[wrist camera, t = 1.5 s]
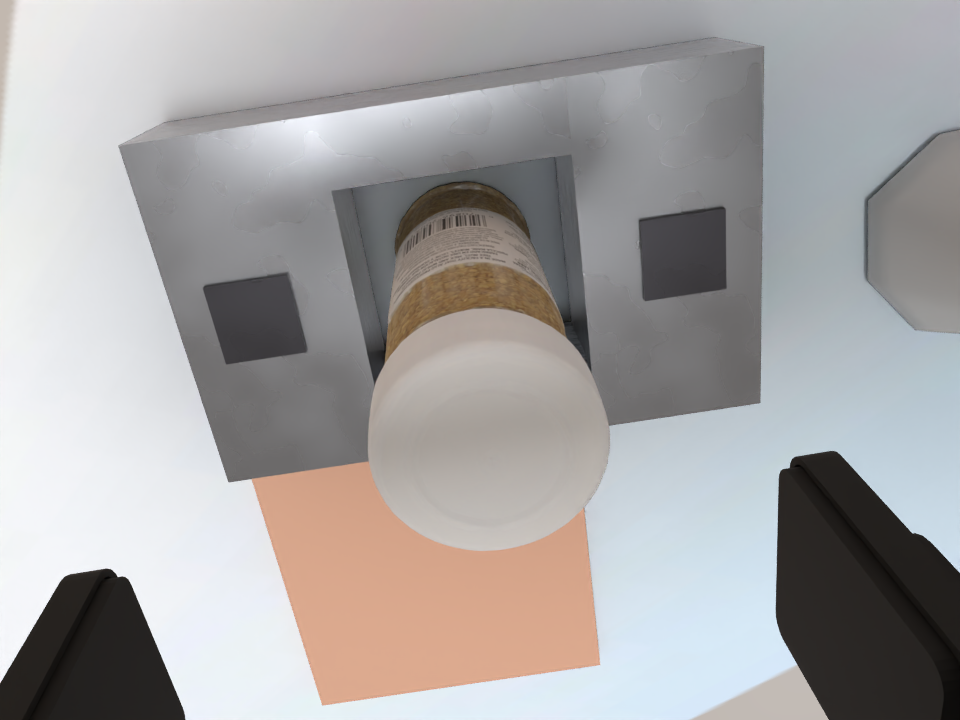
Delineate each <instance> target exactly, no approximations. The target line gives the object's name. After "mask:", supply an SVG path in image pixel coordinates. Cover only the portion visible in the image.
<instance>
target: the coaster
mask: <svg viewBox="0 0 960 720" xmlns="http://www.w3.org/2000/svg"><path fill="white" fill-rule="evenodd" d="M252 482H253V485H254V488H255V491H256V494H257V498H258V501H259V504H260V507H261V510H262V514H263V517H264V520H265V523H266V526H267V530H268V533H269V536H270V539H271V542H272V546H273V549H274V552H275V555H276V558H277V562H278V565H279V568H280V571H281V574H282V578H283V581H284V584H285V587H286V590H287V594H288V597H289V600H290V603H291V606H292V610H293V613H294V616H295V619H296V622H297V626H298V629H299V632H300V635H301V638H302V642H303V645H304V648H305V651H306V655H307V658H308V661H309V664H310V667H311V671H312V674H313V677H314V680H315V683H316V687H317V690H318V693H319V696H320V699H321V703H322V705H329V704H335V703H342V702H349V701H356V700H363V699H370V698H377V697H383V696H390V695H397V694H404V693H411V692H418V691H425V690H431V689H438V688H445V687H452V686H459V685H466V684H473V683H479V682H486V681H493V680H500V679H507V678H514V677H520V676H527V675H534V674H541V673H548V672H555V671H562V670H568V669H575V668H582V667H589V666H596V665H600V659H599V650H598V640H597V630H596V621H595V611H594V601H593V592H592V582H591V572H590V563H589V553H588V543H587V534H586V524H585V514H584V508H583V509H582V510H581V511H580V512H579V513H578V514H577V515H576V516H575V517H574V518H573V519H572V520H570V521H569V522H568V523H567V524H566V525H564V526H563V527H561V528H560V529H558V530H557V531H555V532H553V533H551V534H550V535H548V536H546V537H544V538H542V539H540V540H537V541H534V542H532V543H529V544H526V545H522V546H519V547H514V548H509V549H503V550H492V551H473V550H465V549H460V548H455V547H451V546H447V545H443V544H441V543H438V542H435V541H433V540H431V539H428V538H426V537H424V536H422V535H421V534H419V533H417V532H416V531H414V530H413V529H411V528H410V527H409V526H407V525H406V524H405V523H404V522H403V521H401V520H400V519H399V518H398V517H397V516H396V515H395V514H394V513H393V512H392V511H391V509H390V508H389V507H388V506H387V504H386V503H385V501H384V500H383V498H382V496H381V495H380V493H379V491H378V489H377V487H376V485H375V482H374V480H373V477H372V473H371V469H370V465H369V461H368V462H362V463H355V464H348V465H342V466H335V467H328V468H321V469H315V470H308V471H301V472H295V473H288V474H281V475H275V476H268V477H261V478H254V479H252Z"/></svg>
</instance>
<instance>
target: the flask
mask: <svg viewBox="0 0 960 720" xmlns="http://www.w3.org/2000/svg"><path fill="white" fill-rule="evenodd" d="M868 281H869V283H870V284H871V285H872V286H873V287H874V288H875V289H876V290H877V291H878V292H879V293H880V294H881V295H882V296H883V297H884V298H885V299H886V300H887V301H888V302H889V303H890V304H891V305H892V306H893V307H894V309H895V310H896V311H897V312H898V313H899V314H900V315H901V316H902V317H903V318H904V319H905V320H906V321H907V322H908V323H909V324H910V325H911V326H912V327H913V328H914V329H915V330H920V331H930V332H944V333H960V130H956V131H951V132H947V133H942V134H939V135H938V136H937V137H936V138H934V139H933V140H932V141H931V142H930V143H929V144H928V145H927V146H926V147H925V148H924V149H923V150H922V151H921V152H920V153H918V154H917V155H916V156H915V157H914V158H913V159H912V160H911V161H910V162H909V163H908V164H907V165H906V166H905V167H904V168H902V169H901V170H900V171H899V172H898V173H897V174H896V175H895V176H894V177H893V178H892V179H891V180H890V181H889V182H887V183H886V184H885V185H884V186H883V187H882V188H881V189H880V190H879V191H878V192H877V193H876V194H875V195H874V196H873V197H871V198H870V199H869V200H868Z"/></svg>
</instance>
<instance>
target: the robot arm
mask: <svg viewBox="0 0 960 720" xmlns="http://www.w3.org/2000/svg"><path fill="white" fill-rule="evenodd" d="M776 618H777V624H778V627H779V630H780V633H781V636H782V638H783V640H784V642H785V643H786V645H787V647H788V649H789V651H790V652H791V654H792V656H793V658H794V659H795V661H796V663H797V665H798V666H799V668H800V670H801V672H802V673H803V675H804V677H805V679H806V680H807V682H808V684H809V686H810V687H811V689H812V691H813V693H814V694H815V696H816V698H817V700H818V702H819V703H820V705H821V707H822V709H823V710H824V712H825V714H826V716H827V717H828V719H829V720H960V573H959V572H958V571H957V570H956V569H955V568H954V567H953V565H952V564H951V563H950V562H949V561H948V560H947V559H946V558H945V557H944V556H943V555H942V554H941V553H940V552H939V550H938V549H937V548H936V547H935V546H934V545H933V544H932V543H931V542H930V541H928V540H927V539H926V538H925V537H924V536H922V535H919V534H916V533H913V534H912V533H911V532H910V530H909V529H908V528H907V527H906V526H905V525H904V524H903V523H902V522H901V521H900V520H899V518H898V517H897V516H896V515H895V514H894V513H893V512H892V511H891V510H890V509H889V508H888V506H887V505H886V504H885V503H884V502H883V501H882V500H881V499H880V498H879V497H878V496H877V494H876V493H875V492H874V491H873V490H872V489H871V488H870V487H869V486H868V485H867V483H866V482H865V481H864V480H863V479H862V478H861V477H860V476H859V475H858V474H857V473H856V471H855V470H854V469H853V468H852V467H851V466H850V465H849V464H848V463H847V462H846V461H845V459H844V458H843V457H842V456H841V455H840V454H838V453H837V452H835V451H829V452H822V453H816V454H810V455H804V456H798V457H794V458H793V459H792V461H791V463H790V468H788V469H783V470H781V472H780V474H779V495H778V538H777V581H776ZM0 720H185V714H184V711H183V707H182V705H181V703H180V700H179V698H178V696H177V693H176V691H175V688H174V686H173V684H172V681H171V679H170V676H169V674H168V672H167V669H166V667H165V664H164V662H163V660H162V657H161V655H160V653H159V650H158V648H157V645H156V643H155V641H154V638H153V636H152V633H151V631H150V629H149V626H148V624H147V621H146V619H145V617H144V614H143V612H142V609H141V607H140V605H139V602H138V600H137V598H136V595H135V593H134V590H133V588H132V586H131V584H130V582H129V580H128V579H127V578H126V577H117V575H116V574H115V572H113V571H112V570H111V569H101V570H95V571H89V572H83V573H77V574H70V575H68V576H65V577H64V578H63V579H62V580H61V582H60V583H59V585H58V587H57V588H56V590H55V592H54V593H53V595H52V597H51V598H50V600H49V602H48V603H47V605H46V607H45V609H44V610H43V612H42V614H41V615H40V617H39V619H38V620H37V622H36V624H35V625H34V627H33V629H32V631H31V632H30V634H29V636H28V637H27V639H26V641H25V642H24V644H23V646H22V647H21V649H20V651H19V653H18V654H17V656H16V658H15V659H14V661H13V663H12V664H11V666H10V668H9V669H8V671H7V673H6V675H5V676H4V678H3V680H2V681H1V683H0Z"/></svg>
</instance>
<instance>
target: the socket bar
mask: <svg viewBox="0 0 960 720" xmlns="http://www.w3.org/2000/svg"><path fill="white" fill-rule="evenodd" d="M763 80H764V46H760V45H754V44H749V43H743V42H738V41H732V40H727V39H721V38H716V37H714V38H707V39H701V40H694V41H688V42H681V43H675V44H668V45H662V46H655V47H649V48H643V49H636V50H630V51H623V52H617V53H610V54H604V55H597V56H591V57H584V58H578V59H571V60H565V61H558V62H552V63H545V64H539V65H532V66H526V67H519V68H513V69H507V70H500V71H494V72H487V73H481V74H474V75H468V76H461V77H455V78H448V79H442V80H435V81H429V82H422V83H416V84H409V85H403V86H396V87H390V88H383V89H377V90H370V91H364V92H358V93H351V94H345V95H338V96H332V97H325V98H319V99H312V100H306V101H299V102H293V103H286V104H280V105H273V106H267V107H260V108H254V109H247V110H241V111H234V112H228V113H221V114H215V115H209V116H202V117H196V118H189V119H183V120H176V121H170V122H164V123H162V124H160V125H158V126H156V127H154V128H152V129H150V130H148V131H146V132H144V133H143V134H141V135H139V136H137V137H135V138H133V139H131V140H129V141H127V142H125V143H123V144H121V145H119V149H120V152H121V155H122V158H123V161H124V165H125V168H126V171H127V174H128V177H129V180H130V183H131V186H132V189H133V192H134V195H135V198H136V201H137V204H138V207H139V210H140V213H141V216H142V219H143V223H144V226H145V229H146V232H147V235H148V238H149V241H150V244H151V247H152V250H153V253H154V256H155V259H156V262H157V265H158V268H159V271H160V274H161V277H162V281H163V284H164V287H165V290H166V293H167V296H168V299H169V302H170V305H171V308H172V311H173V314H174V317H175V320H176V323H177V326H178V329H179V332H180V335H181V339H182V342H183V345H184V348H185V351H186V354H187V357H188V360H189V363H190V366H191V369H192V372H193V375H194V378H195V381H196V384H197V387H198V390H199V393H200V397H201V400H202V403H203V406H204V409H205V412H206V415H207V418H208V421H209V424H210V427H211V430H212V433H213V436H214V439H215V442H216V445H217V448H218V451H219V455H220V458H221V461H222V464H223V467H224V470H225V473H226V476H227V479H228V482H234V481H241V480H248V479H254V478H261V477H268V476H275V475H281V474H288V473H295V472H301V471H308V470H315V469H321V468H328V467H335V466H342V465H348V464H355V463H362V462H368V461H369V458H368V429H369V417H370V409H371V402H372V396H373V391H374V387H375V384H376V380H377V378H378V376H379V374H380V372H381V370H382V368H383V366H384V365H385V355H386V350H385V346H384V341H383V337H382V332H381V327H380V322H379V318H378V313H377V308H376V303H375V299H374V294H373V289H372V284H371V280H370V275H369V270H368V265H367V261H366V256H365V251H364V246H363V242H362V237H361V232H360V227H359V223H358V218H357V213H356V208H355V204H354V199H353V194H352V189H351V188H354V187H361V186H367V185H374V184H380V183H387V182H393V181H400V180H406V179H413V178H419V177H426V176H433V175H439V174H446V173H452V172H459V171H465V170H472V169H478V168H485V167H491V166H498V165H504V164H511V163H517V162H524V161H531V160H537V159H544V158H550V157H555V163H556V173H557V183H558V193H559V203H560V213H561V223H562V233H563V243H564V253H565V263H566V273H567V283H568V293H569V303H570V314H571V322H565V323H563V324H564V327H565V335H566V337H567V339H568V340H569V341H570V342H571V343H572V344H573V345H574V347H575V348H576V349H577V350H578V351H579V353H580V354H581V356H582V358H583V359H584V361H585V362H586V364H587V366H588V368H589V370H590V372H591V374H592V376H593V379H594V381H595V384H596V386H597V389H598V392H599V395H600V397H601V400H602V403H603V406H604V409H605V412H606V415H607V419H608V424H609V426H610V425H616V424H623V423H630V422H636V421H643V420H650V419H656V418H663V417H670V416H677V415H683V414H690V413H697V412H703V411H710V410H717V409H723V408H730V407H737V406H744V405H750V404H757V403H760V384H761V283H762V181H763Z"/></svg>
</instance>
